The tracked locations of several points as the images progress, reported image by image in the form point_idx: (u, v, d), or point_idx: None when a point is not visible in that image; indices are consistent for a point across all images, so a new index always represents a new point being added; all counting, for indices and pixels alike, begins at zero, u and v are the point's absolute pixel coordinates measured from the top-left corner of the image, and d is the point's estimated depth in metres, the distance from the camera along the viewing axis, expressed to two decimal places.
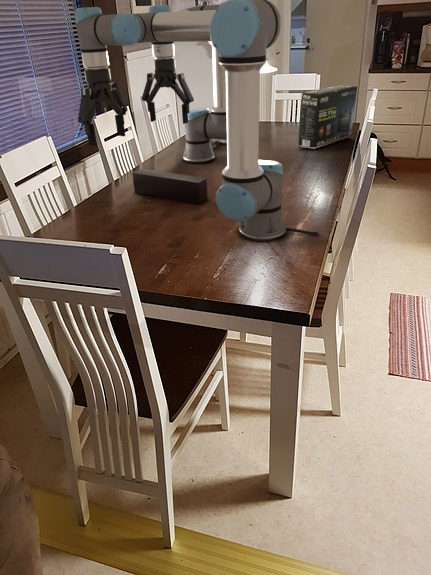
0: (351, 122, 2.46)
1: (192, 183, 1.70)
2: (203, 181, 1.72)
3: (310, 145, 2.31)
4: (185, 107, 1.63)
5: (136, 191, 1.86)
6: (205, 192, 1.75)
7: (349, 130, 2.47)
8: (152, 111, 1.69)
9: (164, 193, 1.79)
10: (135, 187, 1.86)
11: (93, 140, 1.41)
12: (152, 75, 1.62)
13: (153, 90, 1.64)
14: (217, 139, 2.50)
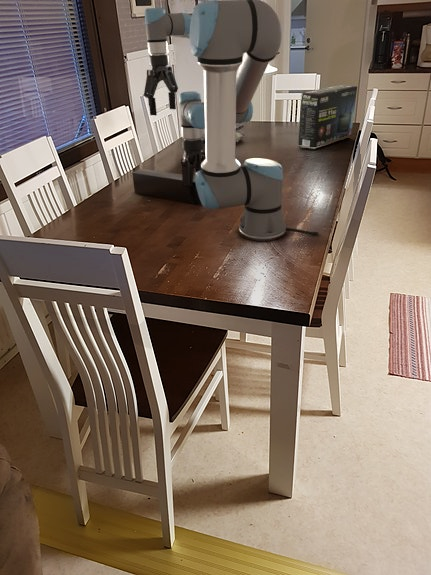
0: (351, 122, 2.46)
1: None
2: None
3: (310, 145, 2.31)
4: None
5: (136, 191, 1.86)
6: None
7: (349, 130, 2.47)
8: (170, 100, 1.92)
9: (164, 193, 1.79)
10: (135, 187, 1.86)
11: (192, 199, 1.73)
12: None
13: None
14: None
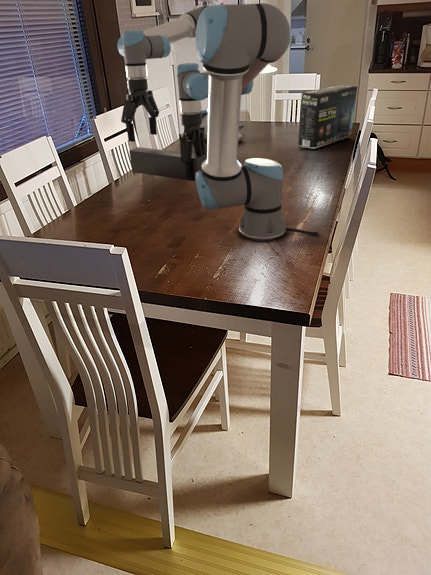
0: (351, 122, 2.46)
1: (191, 159, 1.66)
2: (202, 157, 1.67)
3: (310, 145, 2.31)
4: None
5: (133, 170, 1.82)
6: None
7: (349, 130, 2.47)
8: (151, 125, 1.82)
9: (162, 170, 1.75)
10: (132, 166, 1.81)
11: (191, 176, 1.68)
12: None
13: None
14: None
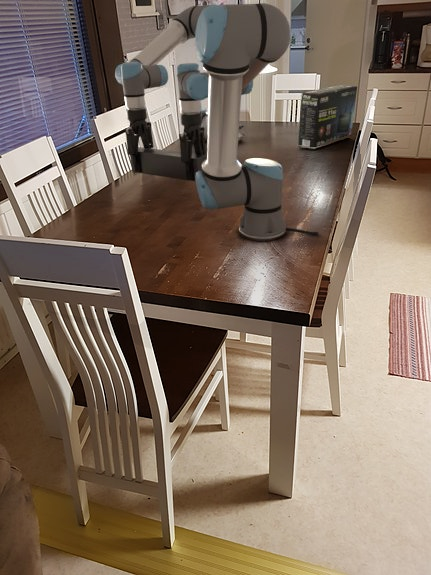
0: (351, 122, 2.46)
1: (191, 159, 1.66)
2: (202, 157, 1.67)
3: (310, 145, 2.31)
4: None
5: (133, 170, 1.82)
6: None
7: (349, 130, 2.47)
8: None
9: (162, 170, 1.75)
10: (132, 166, 1.81)
11: (191, 176, 1.68)
12: None
13: None
14: None
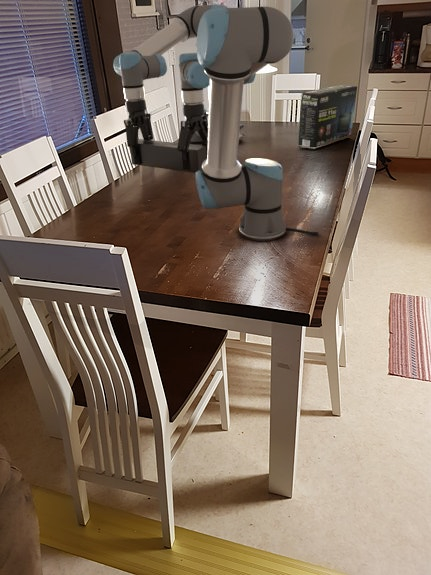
0: (351, 122, 2.46)
1: (191, 151, 1.64)
2: (202, 149, 1.66)
3: (310, 145, 2.31)
4: None
5: (133, 162, 1.81)
6: None
7: (349, 130, 2.47)
8: None
9: (162, 162, 1.73)
10: (132, 158, 1.80)
11: (188, 165, 1.62)
12: None
13: None
14: None
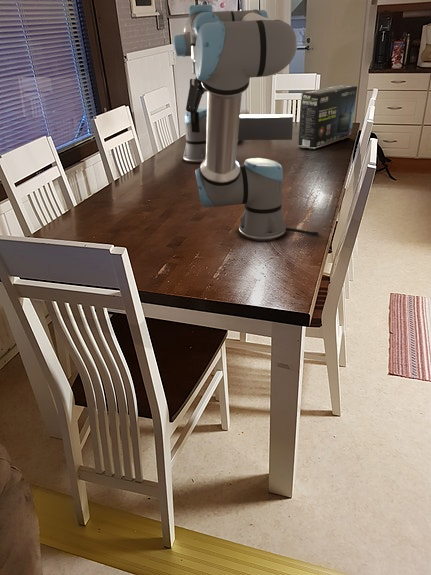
0: (351, 122, 2.46)
1: (285, 119, 1.77)
2: None
3: (310, 145, 2.31)
4: None
5: None
6: None
7: (349, 130, 2.47)
8: None
9: (251, 134, 1.82)
10: None
11: (197, 127, 1.53)
12: None
13: None
14: None
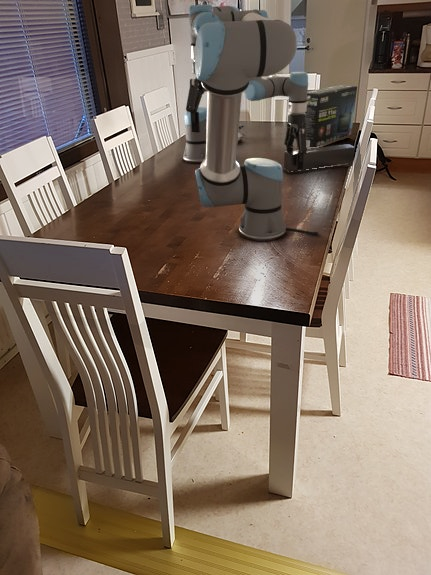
0: (351, 122, 2.46)
1: (349, 149, 2.03)
2: None
3: (310, 145, 2.31)
4: (299, 156, 1.95)
5: (291, 172, 2.01)
6: None
7: (349, 130, 2.47)
8: None
9: (320, 165, 2.03)
10: (290, 168, 2.00)
11: (197, 127, 1.53)
12: None
13: (289, 137, 2.00)
14: None
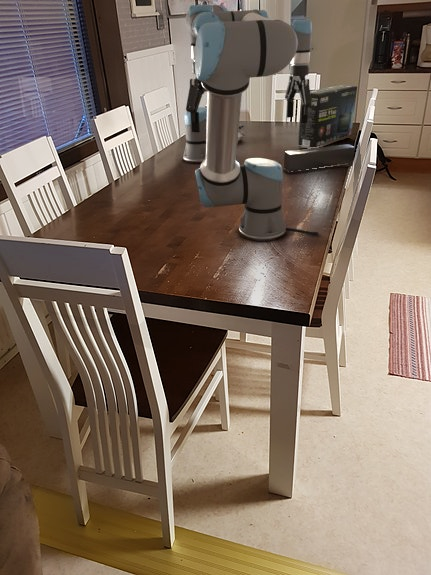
0: (351, 122, 2.46)
1: (349, 149, 2.03)
2: None
3: (310, 145, 2.31)
4: (303, 109, 1.84)
5: (291, 172, 2.01)
6: None
7: (349, 130, 2.47)
8: (289, 108, 1.96)
9: (320, 165, 2.03)
10: (290, 168, 2.00)
11: (197, 127, 1.53)
12: (292, 78, 1.89)
13: (290, 91, 1.91)
14: None
